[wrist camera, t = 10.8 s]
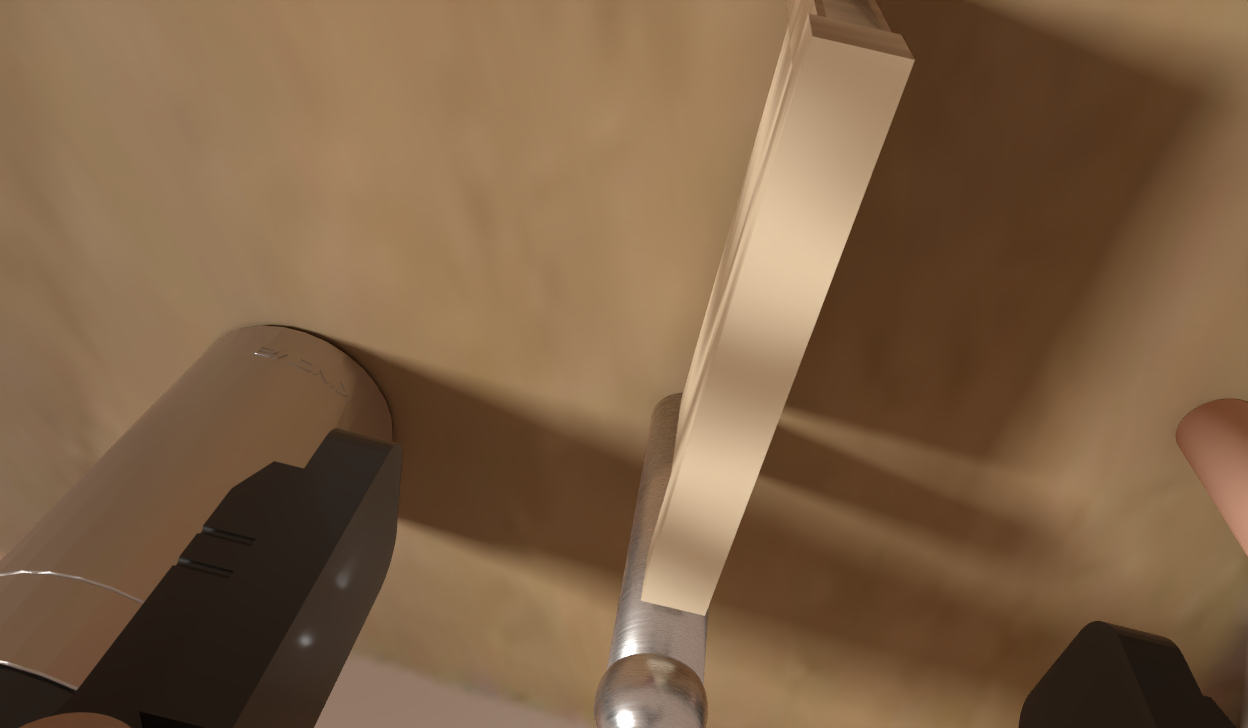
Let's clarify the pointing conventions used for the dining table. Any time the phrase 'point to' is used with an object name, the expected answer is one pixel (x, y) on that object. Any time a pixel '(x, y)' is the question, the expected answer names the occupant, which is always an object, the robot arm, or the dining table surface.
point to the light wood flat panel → (773, 278)
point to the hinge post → (653, 618)
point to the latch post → (1220, 458)
